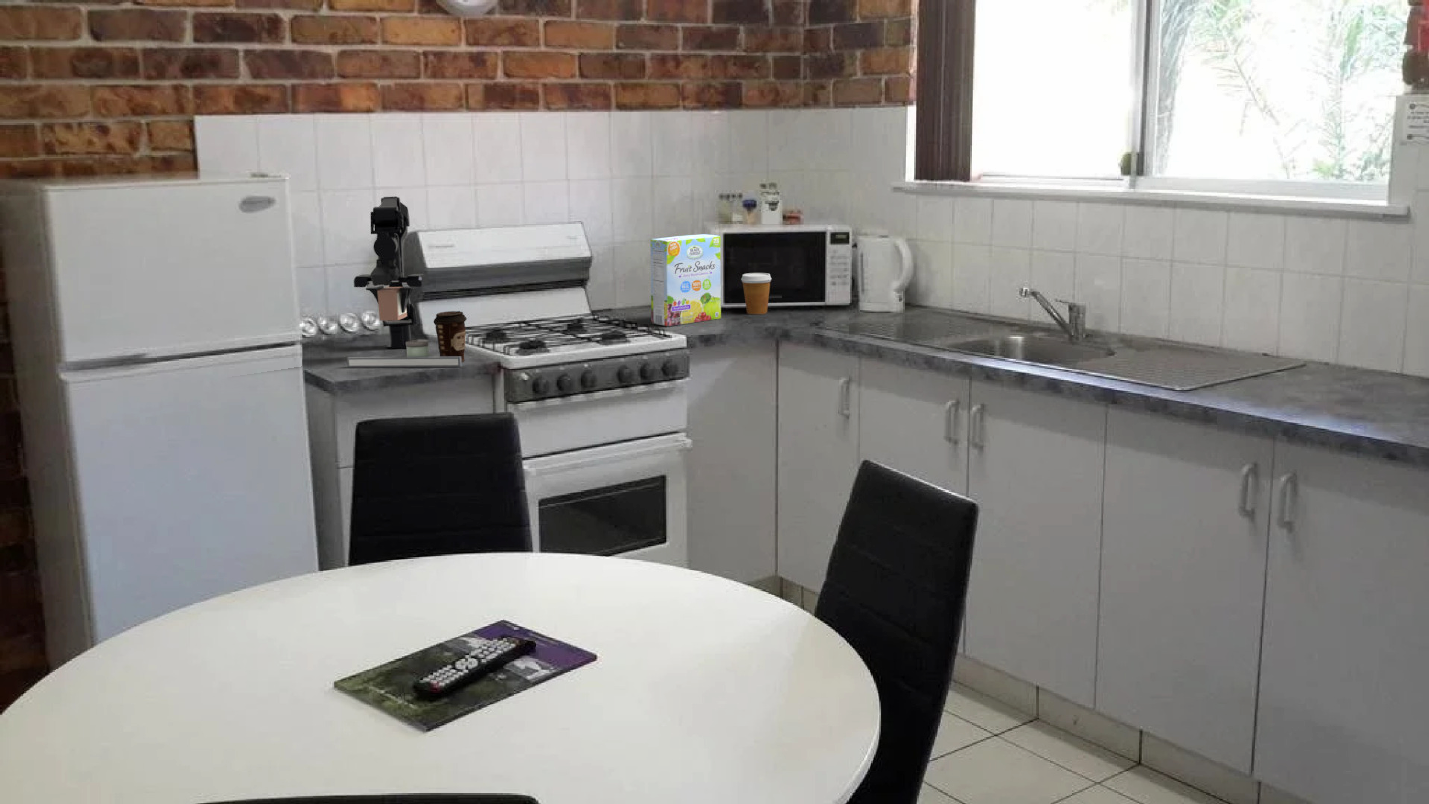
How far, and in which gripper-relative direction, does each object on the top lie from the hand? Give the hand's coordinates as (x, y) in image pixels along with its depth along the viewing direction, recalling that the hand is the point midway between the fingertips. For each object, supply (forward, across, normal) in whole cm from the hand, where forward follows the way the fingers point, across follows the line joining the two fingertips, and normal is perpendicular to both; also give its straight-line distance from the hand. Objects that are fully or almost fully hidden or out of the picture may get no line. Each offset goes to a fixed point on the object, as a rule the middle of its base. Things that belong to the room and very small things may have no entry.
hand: (393, 312), depth 361 cm
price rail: (+12, +7, -14) cm, 20 cm away
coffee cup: (+12, +18, -7) cm, 23 cm away
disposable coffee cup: (+12, +90, +73) cm, 117 cm away
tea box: (+2, 0, 0) cm, 2 cm away
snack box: (+12, +71, +57) cm, 92 cm away
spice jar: (+12, +10, -10) cm, 18 cm away
